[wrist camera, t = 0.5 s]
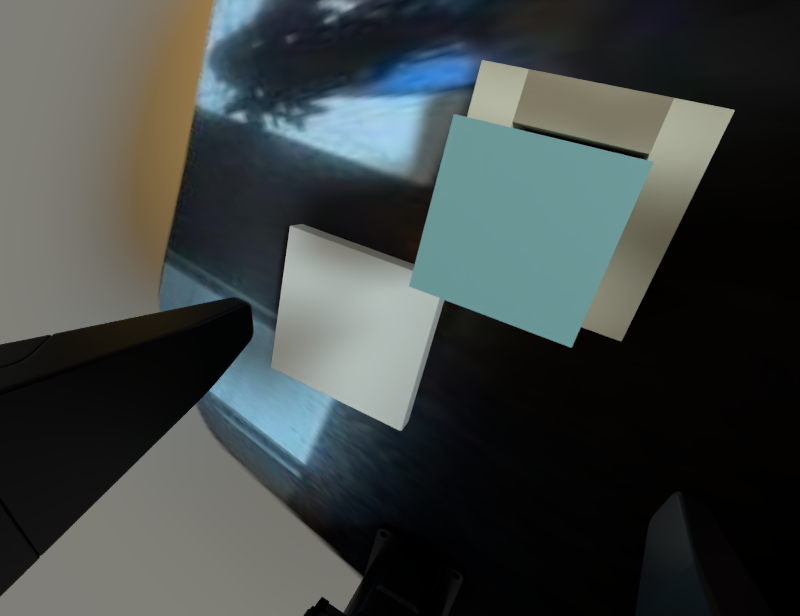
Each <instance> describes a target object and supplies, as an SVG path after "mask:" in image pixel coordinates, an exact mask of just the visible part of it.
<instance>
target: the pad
mask: <svg viewBox="0 0 800 616" xmlns="http://www.w3.org/2000/svg"><path fill="white" fill-rule="evenodd" d="M414 265H415V264H412V263H409V262H406V261H404V260H401V259H398V258H395V257H393V256H390V255H387V254H384V253H381V252H379V251H376V250H373V249H370V248H368V247H365V246H362V245H359V244H356V243H354V242H351V241H348V240H345V239H343V238H340V237H337V236H334V235H332V234H329V233H326V232H323V231H320V230H318V229H315V228H312V227H309V226H307V225H304V224H298V225H293V226H290V229H289V237H288V244H287V251H286V259H285V266H284V274H283V281H282V288H281V296H280V303H279V311H278V318H277V325H276V333H275V340H274V347H273V355H272V362H271V368H273V369H275V370H277V371H279V372H281V373H283V374H285V375H287V376H289V377H291V378H293V379H295V380H297V381H299V382H301V383H303V384H306V385H308V386H310V387H312V388H314V389H316V390H318V391H320V392H322V393H324V394H326V395H328V396H330V397H332V398H334V399H336V400H338V401H340V402H342V403H344V404H346V405H348V406H350V407H352V408H354V409H356V410H358V411H361V412H363V413H365V414H367V415H369V416H371V417H373V418H375V419H377V420H379V421H381V422H383V423H385V424H387V425H389V426H391V427H393V428H395V429H397V430H399V431H402V429H403V428H404V427H405V425H406V424H407V423H408V421H409V418H410V414H411V411H412V407H413V404H414V401H415V397H416V394H417V391H418V387H419V384H420V381H421V377H422V374H423V370H424V367H425V364H426V360H427V357H428V354H429V350H430V347H431V343H432V340H433V337H434V333H435V330H436V327H437V323H438V320H439V316H440V313H441V310H442V306H443V303H444V299H441V298H438V297H436V296H433V295H430V294H428V293H425V292H423V291H420V290H417V289H415V288H412V287H409V285H410V281H411V277H412V273H413V269H414Z"/></svg>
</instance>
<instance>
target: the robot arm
mask: <svg viewBox="0 0 800 616" xmlns="http://www.w3.org/2000/svg"><path fill="white" fill-rule="evenodd" d="M253 333H254V327H253V313H252V307H251V305H250V304H249V303H248V302H246V301H243V300H241V299H239V298H235V297H232V298H227V299H222V300H217V301H212V302H208V303H203V304H198V305H193V306H188V307H183V308H178V309H173V310H169V311H164V312H159V313H154V314H149V315H144V316H139V317H135V318H129V319H125V320H120V321H115V322H110V323H105V324H100V325H95V326H90V327H85V328H81V329H76V330H71V331H66V332H61V333H56V334H53V335H52V336H51V335H46V336H41V337H36V338H32V339H27V340H22V341H16V342H12V343H6V344H1V345H0V596H1V595H2V594H3V593H4V592H5V591H6V590H7V589H8V588H9V587H10V586H11V585H13V584H14V583H15V582H16V580H18V579H19V578H20V577H21V576H22V575H23V574H24V573H25V572H26V571H27V569H29V568H30V567H31V566H32V565H33V564H34V563H35V562H36V561H37V560H38V559H39V557H40V556H41V555H42V554H43V553H45V552H46V551H47V550H48V549H49V548H50V547H51V546H52V545H53V544H54V543H55V542H56V541H57V540H58V539H59V538H60V537H61V536H62V535H63V534H64V533H65V532H66V531H67V530H68V529H69V528H70V527H71V526H72V525H73V524H74V523H75V522H76V521H77V520H78V519H79V518H80V517H81V516H82V515H83V514H84V513H85V512H86V511H87V510H88V509H89V508H90V507H91V506H92V505H93V504H94V503H95V502H96V501H97V500H98V499H99V498H100V497H102V495H104V494H105V492H107V491H108V490H109V489H110V488H111V487H112V486H113V485H114V484H115V483H116V482H117V481H118V480H119V479H120V478H121V477H122V476H123V475H124V474H125V473H126V472H127V471H128V470H129V469H130V468H131V467H132V466H133V465H134V464H135V463H136V462H137V461H138V460H139V459H140V458H141V457H142V456H143V455H144V454H145V453H146V452H147V451H148V450H149V449H150V448H151V447H152V446H153V445H154V444H155V443H156V442H157V441H158V440H159V439H160V438H161V437H163V436H164V435H165V434H166V432H168V431H169V429H171V428H172V427H173V426H174V425H175V424H176V423H177V422H178V421H179V420H180V419H181V418H182V417H183V416H184V415H185V414H186V413H187V412H188V411H189V410H190V409H191V408H192V407H193V406H194V405H195V404H196V403H197V402H198V401H199V400H200V399H201V398H202V397H203V396H204V395H205V394H206V393H207V392H208V391H209V390H210V389H211V387H212V386H213V385H214V384H215V383H216V382H217V381H218V379H219V378H220V377H221V376H222V375H223V373H224V372H225V371H226V370H227V369H228V367H229V366H230V365H231V364H232V363H233V361H234V360H235V359H236V358H237V357H238V355H239V354H240V353H241V352H242V351H243V349H244V348H245V347H246V346H247V345H248V343H249V342H250V341H251V339H252V336H253ZM456 573H457V574H456ZM464 576H465V572H464V570H463V569H462V568H461V567H460V566H458V565H456V564H454V563H453V562H451V561H449V560H447V559H446V558H444V557H442V556H440V555H439V554H437V553H435V552H433V551H432V550H430V549H428V548H426V547H425V546H423V545H421V544H419V543H417V542H416V541H414V540H412V539H410V538H409V537H407V536H405V535H403V534H402V533H400V532H398V531H396V530H395V529H393V528H391V527H389V526H388V525H381V526H380V528H379V529H378V531H377V534H376V538H375V541H374V544H373V548H372V551H371V554H370V558H369V561H368V564H367V568H366V571H365V574H364V578H363V580H362V581H361V583H360V585H359V587H358V589H357V590H356V592H355V594H354V595H353V597H352V599H351V601H350V602H349V604H348V606H347V607H346V609H345V611H344V613H342V612H341V611H339V610H338V609H336V608H335V607H334V606H332V605H330V604H329V601H328V600H326V599H324V598H323V597H322V598H321V599H320V600H319V601H318V603H317V604H316V605H315V607H314V606H312V607H311V608H310V609H308V610H307V611H306V613H305V614H304V616H448V613H449V611H450V609H451V607H452V604H453V602H454V600H455V597H456V595H457V593H458V590H459V588H460V586H461V584H462V581H463V579H464ZM635 616H775V615H774V614H773V612H772V611H771V609H770V607H769V606H768V604H767V603H766V601H765V599H764V598H763V596H762V595H761V593H760V591H759V590H758V588H757V586H756V585H755V583H754V582H753V580H752V578H751V577H750V575H749V574H748V572H747V570H746V569H745V567H744V566H743V564H742V562H741V561H740V559H739V557H738V556H737V554H736V553H735V551H734V549H733V548H732V546H731V545H730V543H729V541H728V540H727V538H726V537H725V535H724V533H723V532H722V530H721V529H720V527H719V525H718V524H717V522H716V520H715V519H714V517H713V516H712V514H711V512H710V511H709V509H708V508H707V506H706V505H705V504H704V503H703V502H702V501H700V500H698V499H696V498H693V497H691V496H689V495H687V494H684V493H682V492H674V493H673V494H672V495H670V497H669V498H668V499H667V500H666V501H665V502H664V503H663V505H662V506H661V507H660V508H659V509H658V510H657V511H656V513H655V514H654V515H653V516H652V518H651V520H650V523H649V526H648V531H647V538H646V545H645V551H644V558H643V565H642V571H641V578H640V585H639V591H638V598H637V606H636V614H635Z"/></svg>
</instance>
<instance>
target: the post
mask: <svg viewBox="0 0 800 616" xmlns="http://www.w3.org/2000/svg"><path fill="white" fill-rule="evenodd" d="M653 163H654V162H652V161H648V160H644V159H639V158H635V157H631V156H627V155H623V154H619V153H614V152H610V151H606V150H602V149H598V148H594V147H590V146H585V145H581V144H577V143H573V142H569V141H565V140H560V139H556V138H552V137H548V136H544V135H540V134H536V133H531V132H527V131H523V130H519V129H515V128H511V127H507V126H502V125H498V124H494V123H490V122H486V121H482V120H477V119H473V118H469V117H465V116H461V115H457V114H454V115H453V119H452V122H451V126H450V130H449V134H448V138H447V142H446V146H445V149H444V153H443V157H442V161H441V165H440V169H439V173H438V176H437V180H436V184H435V188H434V192H433V196H432V200H431V203H430V207H429V211H428V215H427V219H426V223H425V227H424V230H423V234H422V238H421V242H420V246H419V250H418V254H417V258H416V261H415V265H414V269H413V273H412V277H411V281H410V285H409V287H412V288H415V289H417V290H420V291H423V292H425V293H428V294H430V295H433V296H436V297H438V298H441V299H444V300H446V301H449V302H452V303H454V304H457V305H460V306H462V307H465V308H467V309H470V310H473V311H475V312H478V313H481V314H483V315H486V316H489V317H491V318H494V319H497V320H499V321H502V322H504V323H507V324H510V325H512V326H515V327H518V328H520V329H523V330H526V331H528V332H531V333H533V334H536V335H539V336H541V337H544V338H547V339H549V340H552V341H555V342H557V343H560V344H563V345H565V346H568V347H570V348H572V346H573V344H574V341H575V339H576V337H577V335H578V332H579V330H580V328H581V326H582V323H583V321H584V319H585V317H586V314H587V312H588V310H589V307H590V305H591V303H592V301H593V298H594V296H595V294H596V292H597V289H598V287H599V285H600V283H601V280H602V278H603V276H604V274H605V271H606V269H607V267H608V264H609V262H610V260H611V258H612V255H613V253H614V251H615V249H616V246H617V244H618V242H619V240H620V237H621V235H622V233H623V231H624V228H625V226H626V224H627V222H628V219H629V217H630V215H631V212H632V210H633V208H634V206H635V203H636V201H637V199H638V197H639V194H640V192H641V190H642V188H643V185H644V183H645V181H646V179H647V176H648V174H649V172H650V169H651V167H652V165H653Z"/></svg>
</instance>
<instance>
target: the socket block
mask: <svg viewBox="0 0 800 616" xmlns="http://www.w3.org/2000/svg"><path fill="white" fill-rule="evenodd" d="M734 111H735V110H732V109H727V108H722V107H717V106H712V105H707V104H702V103H697V102H692V101H687V100H681V99H676V98H671V97H666V96H661V95H656V94H651V93H646V92H641V91H636V90H631V89H626V88H621V87H616V86H611V85H606V84H601V83H595V82H590V81H585V80H580V79H575V78H570V77H565V76H560V75H555V74H550V73H545V72H540V71H535V70H530V69H525V68H520V67H515V66H509V65H504V64H499V63H494V62H489V61H484V60H482V62H481V66H480V70H479V74H478V77H477V81H476V85H475V88H474V92H473V96H472V100H471V103H470V107H469V111H468V114H467V117H469V118H473V119H477V120H482V121H486V122H490V123H494V124H498V125H502V126H507V127H511V128H515V129H519V130H523V131H525V129H528V130H532V131H536V132H540V133H544V134H548V135H553V136H557V137H561V138H565V139H569V140H573V141H578V142H582V143H586V144H590V145H594V146H599V147H603V148H607V149H611V150H615V151H619V152H624V153H628V154H632V155H636V156H640V157H641V159H644V160H648V161H652V162H654V163H653V165H652V167H651V169H650V172H649V174H648V176H647V179H646V181H645V183H644V185H643V188H642V190H641V192H640V194H639V197H638V199H637V201H636V203H635V206H634V208H633V210H632V212H631V215H630V217H629V219H628V222H627V224H626V226H625V228H624V231H623V233H622V235H621V237H620V240H619V242H618V244H617V246H616V249H615V251H614V253H613V255H612V258H611V260H610V262H609V264H608V267H607V269H606V271H605V274H604V276H603V278H602V280H601V283H600V285H599V287H598V289H597V292H596V294H595V296H594V298H593V301H592V303H591V305H590V307H589V310H588V312H587V314H586V317H585V319H584V321H583V323H582V326H581V327H582V328H585V329H588V330H591V331H593V332H596V333H599V334H602V335H604V336H607V337H610V338H613V339H616V340H618V341H622V339H623V337H624V335H625V333H626V331H627V329H628V327H629V325H630V323H631V321H632V319H633V317H634V315H635V313H636V311H637V309H638V307H639V305H640V303H641V301H642V299H643V297H644V295H645V292H646V290H647V288H648V286H649V284H650V282H651V280H652V278H653V276H654V274H655V272H656V270H657V268H658V266H659V264H660V262H661V260H662V258H663V256H664V254H665V252H666V250H667V248H668V246H669V244H670V241H671V239H672V237H673V235H674V233H675V231H676V229H677V227H678V225H679V223H680V221H681V219H682V217H683V215H684V213H685V211H686V209H687V207H688V205H689V203H690V201H691V199H692V197H693V195H694V193H695V190H696V188H697V186H698V184H699V182H700V180H701V178H702V176H703V174H704V172H705V170H706V168H707V166H708V164H709V162H710V160H711V158H712V156H713V154H714V152H715V150H716V148H717V146H718V144H719V142H720V140H721V137H722V135H723V133H724V131H725V129H726V127H727V125H728V123H729V121H730V119H731V117H732V115H733V113H734Z"/></svg>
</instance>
